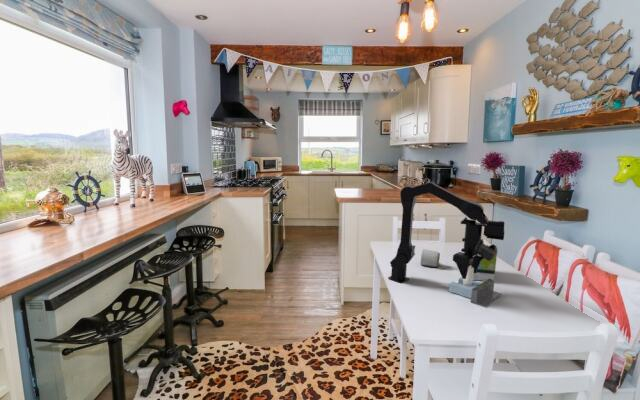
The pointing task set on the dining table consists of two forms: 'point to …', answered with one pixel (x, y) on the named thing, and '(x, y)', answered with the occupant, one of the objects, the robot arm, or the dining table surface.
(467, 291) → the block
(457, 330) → the dining table surface
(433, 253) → the ceramic mug
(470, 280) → the dowel
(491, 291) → the stop wall
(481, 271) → the tea box
